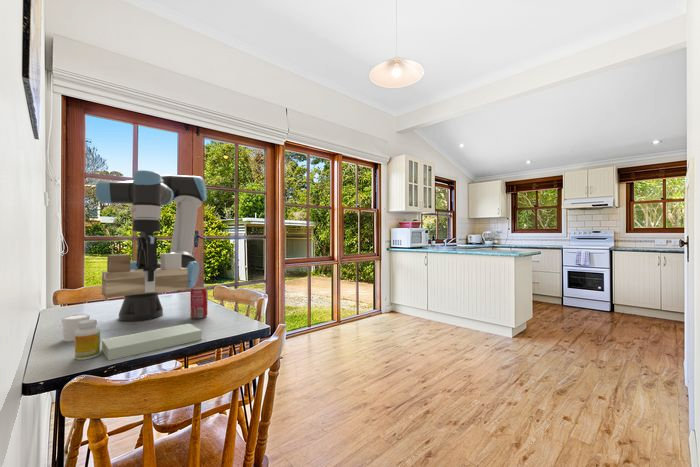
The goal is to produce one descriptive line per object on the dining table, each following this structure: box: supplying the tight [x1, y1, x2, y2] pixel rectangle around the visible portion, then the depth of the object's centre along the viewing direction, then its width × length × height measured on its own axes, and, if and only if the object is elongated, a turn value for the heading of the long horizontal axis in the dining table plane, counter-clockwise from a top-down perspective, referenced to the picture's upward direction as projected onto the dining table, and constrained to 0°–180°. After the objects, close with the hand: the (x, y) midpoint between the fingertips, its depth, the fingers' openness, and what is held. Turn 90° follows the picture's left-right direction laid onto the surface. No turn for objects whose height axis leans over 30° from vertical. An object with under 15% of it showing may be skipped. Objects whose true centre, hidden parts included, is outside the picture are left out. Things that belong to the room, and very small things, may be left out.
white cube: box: [160, 252, 182, 269], centre depth 108 cm, size 5×5×5 cm
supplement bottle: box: [74, 319, 101, 361], centre depth 88 cm, size 5×5×10 cm
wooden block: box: [101, 267, 188, 299], centre depth 103 cm, size 8×22×7 cm, turn 135°
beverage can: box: [190, 286, 209, 320], centre depth 130 cm, size 6×6×12 cm
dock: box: [101, 323, 203, 361], centre depth 98 cm, size 11×24×3 cm, turn 136°
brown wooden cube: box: [106, 254, 131, 273], centre depth 98 cm, size 5×5×5 cm
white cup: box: [61, 314, 91, 342], centre depth 104 cm, size 7×7×7 cm
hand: (146, 290), depth 103 cm, fingers closed on wooden block, 8 cm apart
